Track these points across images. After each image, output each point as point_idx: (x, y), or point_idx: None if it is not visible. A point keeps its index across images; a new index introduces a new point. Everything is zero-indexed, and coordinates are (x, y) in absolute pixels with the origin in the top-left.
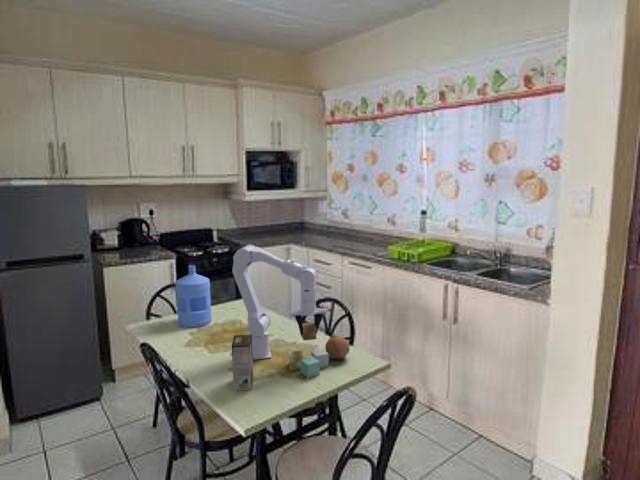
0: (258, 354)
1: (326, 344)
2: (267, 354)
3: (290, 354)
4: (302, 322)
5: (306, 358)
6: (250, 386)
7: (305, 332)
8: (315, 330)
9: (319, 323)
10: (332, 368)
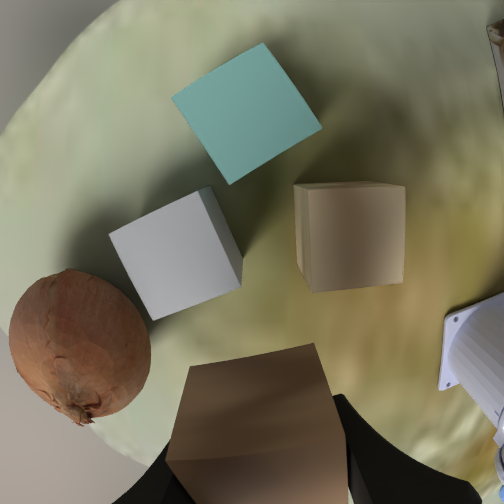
0: (499, 311)
1: (129, 355)
2: (463, 329)
3: (396, 229)
4: (375, 497)
5: (276, 148)
6: (495, 23)
7: (306, 398)
8: (182, 426)
9: (126, 494)
10: (118, 189)
